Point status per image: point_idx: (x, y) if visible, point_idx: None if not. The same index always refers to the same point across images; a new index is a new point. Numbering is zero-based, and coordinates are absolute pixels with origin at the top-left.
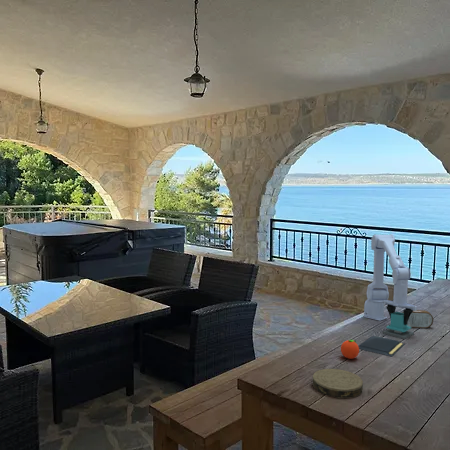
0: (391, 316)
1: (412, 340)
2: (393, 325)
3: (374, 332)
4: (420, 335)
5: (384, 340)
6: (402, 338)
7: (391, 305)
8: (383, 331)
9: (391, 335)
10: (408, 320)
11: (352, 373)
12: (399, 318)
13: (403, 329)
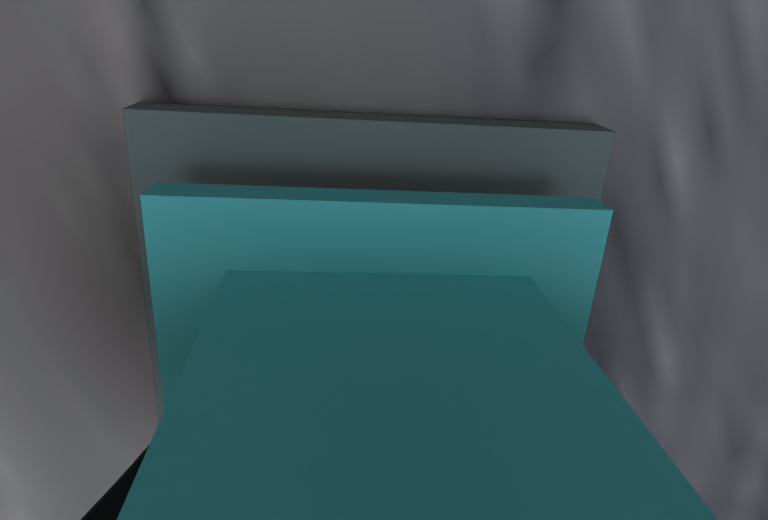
0: (647, 463)
1: (4, 155)
2: (462, 294)
3: (753, 77)
4: (88, 499)
5: None
6: (184, 104)
7: None
8: (608, 147)
9: (421, 117)
10: None
11: None
12: (289, 463)
13: (196, 282)
